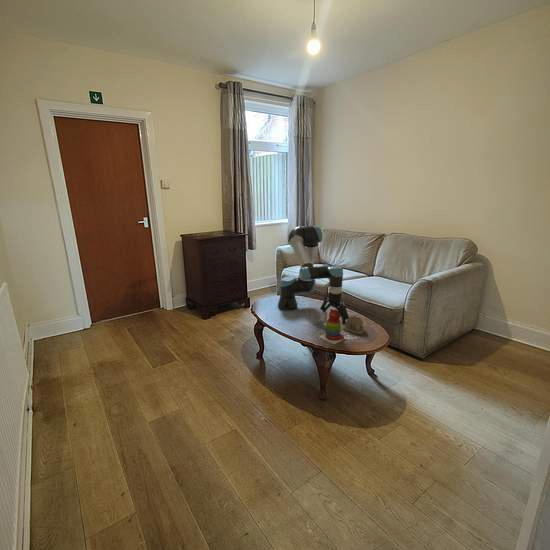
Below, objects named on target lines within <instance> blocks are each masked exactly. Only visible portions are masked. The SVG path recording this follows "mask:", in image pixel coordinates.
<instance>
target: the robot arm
mask: <svg viewBox="0 0 550 550" xmlns="http://www.w3.org/2000/svg"><path fill="white" fill-rule="evenodd" d="M287 240H288V244H289V246H290V247H291V248H292V250H293V252H294V255H295V257H296V259H297V261H298V264H299V266H300V267H299V273H298V276H297V277H295V276H293V275H291V276H290V275H289V276H284V277H282V278H281V279H280V281H279V300H278V302H277V308H278V309H279V310H282V311H293V310H296V309H297V308H298V302H297V299H296V294H309V293H312V292H314V291H315V289H316V280H319V279H320V280H322V279H328V280H329V283H328V285H329V286H328V296H326V297H324V299H323V302H322V304H321V306H320V311H322V320H323V322H325V321H327V320H328V309H330V307H332V308H334V309H335V310H337V311H338V312H339V314H340V318H341V319H340V322H341V327H340V329H341V331H342V330H344V324H345V323H346V321H347V319H349V313H348V310H347V307H346V302H345V301H344V302H343V301H341V299H342V292H343V291H342V290H343V278H344V268H343V267H342V266H339V265H331V264H327V263H326V264H323V265H320V266H315V265H314V263H315V254H316V248H318V246H319V244H320V243H322V241H323V232H322V229H321V227H320V226H318V225H305V226H300V225H299V226H296V227H294V228H293V229H292V230H290V232H289V234H288V238H287Z"/></svg>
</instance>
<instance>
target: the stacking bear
mask: <svg viewBox="0 0 550 550" xmlns="http://www.w3.org/2000/svg"><path fill="white" fill-rule="evenodd" d="M340 318H341V316H340V314H339V312H338V310H337V309H333V308H330V311H329V314H328V318H327V323H326V330H325V332H326V333H325V334H326V335H325V336H326V338H327V339H329V340H342V339H344V337H345V336H344V335H343V334H342V333H341V332H342V330H341V329H340V327H341V319H340ZM344 340H345V339H344ZM342 341H343V340H342Z"/></svg>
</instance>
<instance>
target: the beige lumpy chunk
mask: <svg viewBox="0 0 550 550" xmlns="http://www.w3.org/2000/svg"><path fill="white" fill-rule="evenodd" d="M348 316H349V315H348ZM363 325H364V320H363V319H362V318H361V317H359V316H357V315H350V316H349V319H346V323H345V324H344V329H343V330H344V331H346V332H350V333H354V334H357V335H358V334H359V335H361V334H364V333H365V332H366V331H365V329H364V326H363Z"/></svg>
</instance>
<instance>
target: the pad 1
mask: <svg viewBox="0 0 550 550" xmlns="http://www.w3.org/2000/svg"><path fill="white" fill-rule="evenodd" d="M326 323H327V321H325V322H323V319H322V320H319V321H317V322H314V323H313V325H314V326H315V327H317V326H318V328H320V329H322V330H323V331H326Z"/></svg>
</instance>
